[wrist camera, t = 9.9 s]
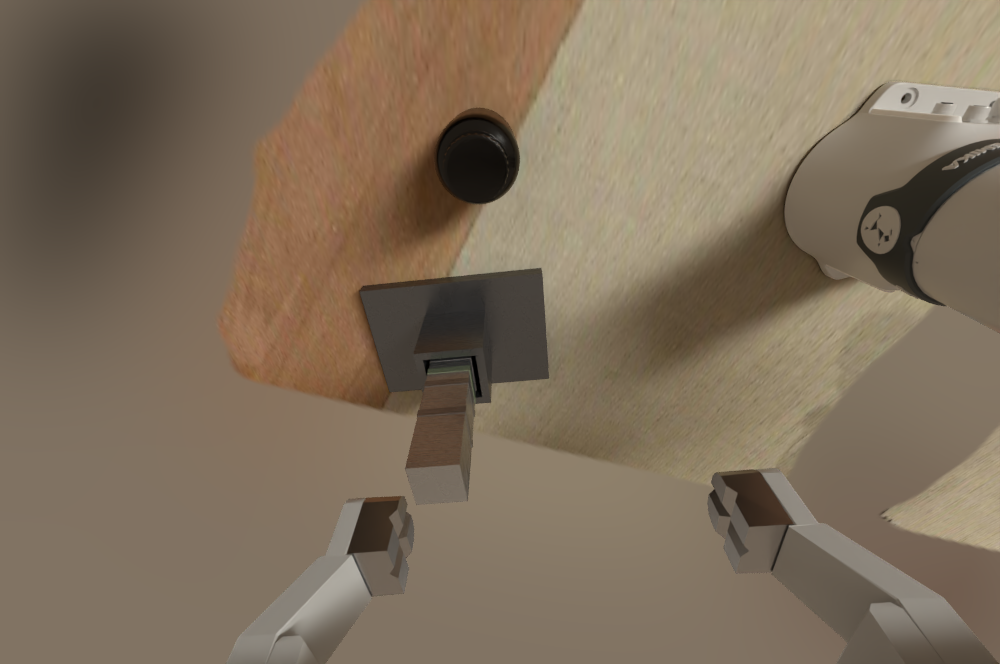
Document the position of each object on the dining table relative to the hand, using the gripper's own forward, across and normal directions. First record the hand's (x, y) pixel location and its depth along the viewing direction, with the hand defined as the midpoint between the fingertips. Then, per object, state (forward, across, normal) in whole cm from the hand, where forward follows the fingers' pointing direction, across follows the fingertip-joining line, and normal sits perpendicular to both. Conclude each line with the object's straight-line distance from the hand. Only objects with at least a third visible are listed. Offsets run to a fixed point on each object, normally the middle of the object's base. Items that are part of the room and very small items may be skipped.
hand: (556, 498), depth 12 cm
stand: (+37, +8, +16) cm, 41 cm away
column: (+30, +8, +16) cm, 35 cm away
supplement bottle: (+37, +3, -4) cm, 38 cm away
